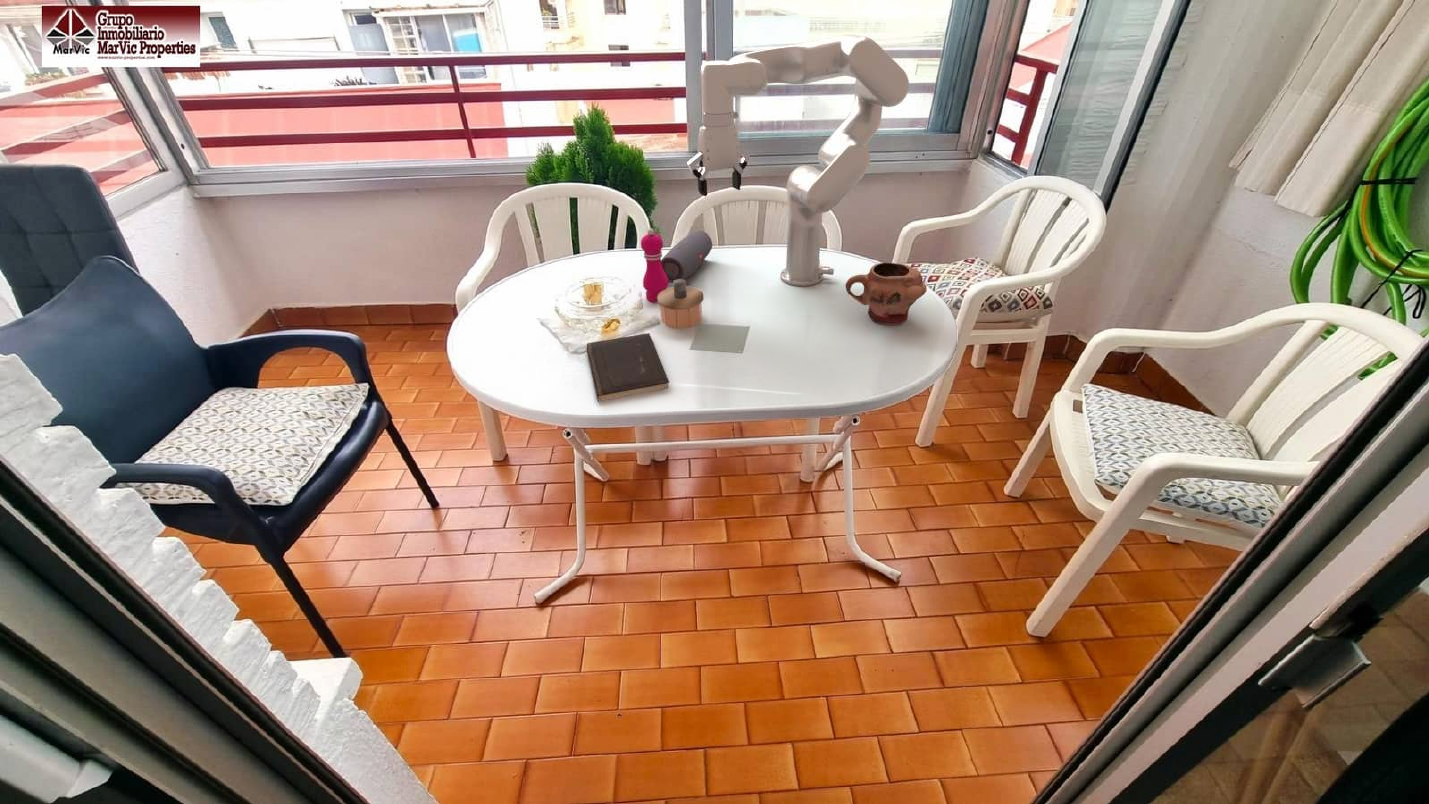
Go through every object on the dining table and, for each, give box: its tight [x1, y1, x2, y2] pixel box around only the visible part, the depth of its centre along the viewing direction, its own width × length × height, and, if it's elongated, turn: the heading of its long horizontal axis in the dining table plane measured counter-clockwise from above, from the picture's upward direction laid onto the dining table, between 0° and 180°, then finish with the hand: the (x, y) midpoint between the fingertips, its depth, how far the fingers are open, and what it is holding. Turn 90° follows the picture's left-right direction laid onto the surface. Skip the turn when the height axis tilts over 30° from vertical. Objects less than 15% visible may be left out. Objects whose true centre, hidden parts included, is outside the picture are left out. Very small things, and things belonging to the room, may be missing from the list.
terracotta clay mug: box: [844, 262, 928, 326], centre depth 147 cm, size 20×12×14 cm, turn 89°
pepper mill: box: [640, 228, 670, 303], centre depth 159 cm, size 7×7×20 cm
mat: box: [689, 323, 750, 354], centre depth 145 cm, size 13×13×1 cm
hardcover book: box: [586, 332, 670, 402], centre depth 135 cm, size 16×23×2 cm
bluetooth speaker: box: [661, 229, 713, 284], centre depth 175 cm, size 23×9×10 cm, turn 159°
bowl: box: [659, 302, 703, 329], centre depth 152 cm, size 10×11×6 cm
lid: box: [657, 279, 705, 309], centre depth 149 cm, size 12×12×5 cm
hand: (720, 191), depth 150 cm, fingers open, 9 cm apart
